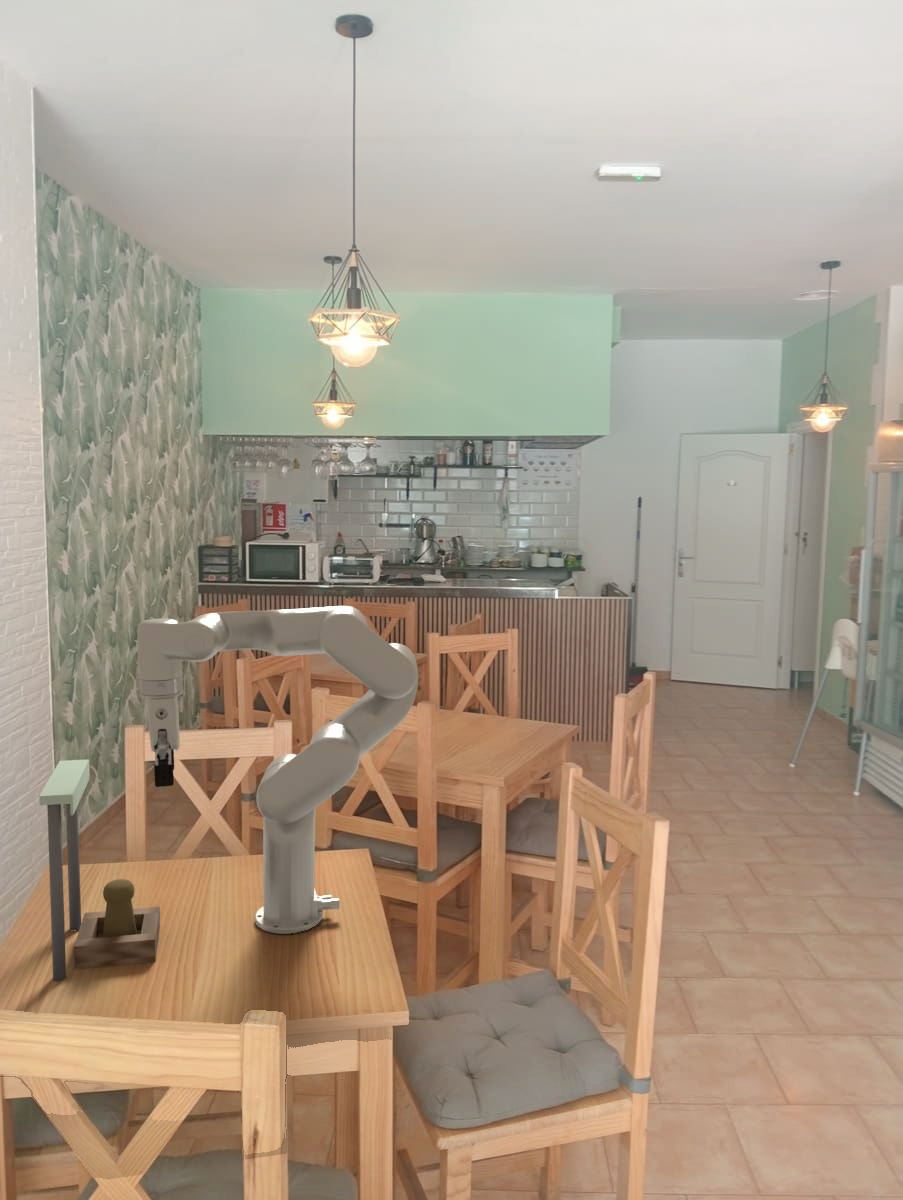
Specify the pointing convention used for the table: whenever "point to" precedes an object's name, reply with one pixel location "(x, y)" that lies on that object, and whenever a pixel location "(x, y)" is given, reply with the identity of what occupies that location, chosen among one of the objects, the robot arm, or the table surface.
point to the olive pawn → (119, 909)
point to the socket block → (117, 941)
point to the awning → (61, 790)
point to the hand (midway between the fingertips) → (165, 777)
